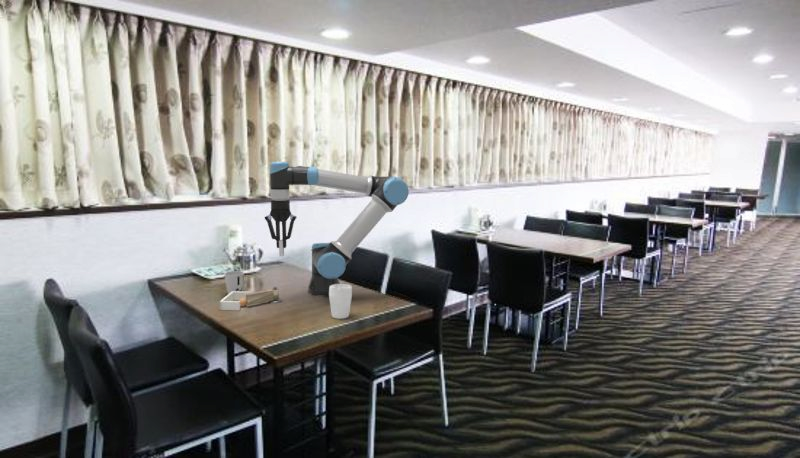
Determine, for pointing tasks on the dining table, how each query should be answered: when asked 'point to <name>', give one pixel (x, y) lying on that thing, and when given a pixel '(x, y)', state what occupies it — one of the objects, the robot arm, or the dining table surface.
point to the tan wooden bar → (262, 296)
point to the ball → (242, 302)
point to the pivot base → (275, 301)
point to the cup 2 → (340, 300)
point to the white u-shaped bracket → (228, 301)
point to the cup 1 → (234, 281)
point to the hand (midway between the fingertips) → (281, 255)
